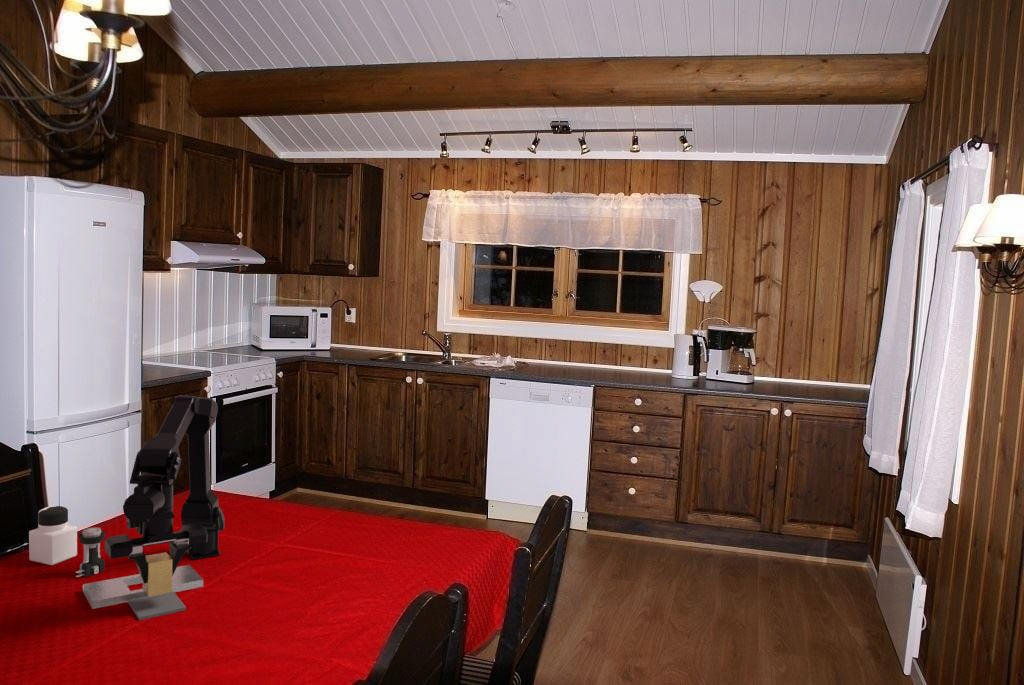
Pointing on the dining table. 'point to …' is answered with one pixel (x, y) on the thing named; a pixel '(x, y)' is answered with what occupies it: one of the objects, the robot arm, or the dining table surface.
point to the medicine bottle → (52, 537)
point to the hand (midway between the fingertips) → (157, 580)
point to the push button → (91, 551)
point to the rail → (120, 593)
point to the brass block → (158, 574)
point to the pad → (156, 605)
